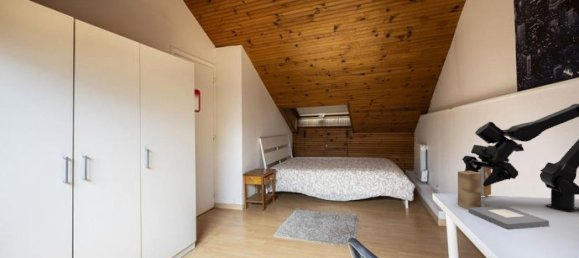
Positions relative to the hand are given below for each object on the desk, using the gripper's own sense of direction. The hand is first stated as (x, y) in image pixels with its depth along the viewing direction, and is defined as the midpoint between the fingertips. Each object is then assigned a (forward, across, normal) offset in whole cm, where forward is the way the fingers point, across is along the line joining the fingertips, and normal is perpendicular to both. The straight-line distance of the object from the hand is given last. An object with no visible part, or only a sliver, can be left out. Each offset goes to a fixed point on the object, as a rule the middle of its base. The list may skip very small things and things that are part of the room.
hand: (473, 182), depth 93 cm
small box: (-3, -12, +16) cm, 21 cm away
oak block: (+8, 0, +5) cm, 9 cm away
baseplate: (+6, +12, +7) cm, 15 cm away
